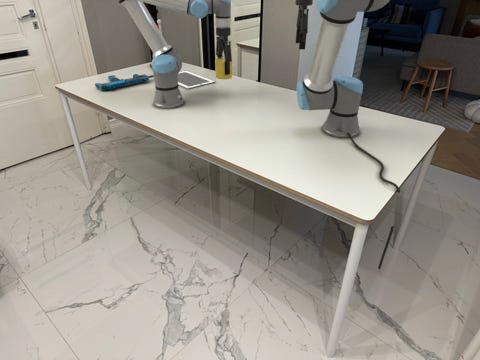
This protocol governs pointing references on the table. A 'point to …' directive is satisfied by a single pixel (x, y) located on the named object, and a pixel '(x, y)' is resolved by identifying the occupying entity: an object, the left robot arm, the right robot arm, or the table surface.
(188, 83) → the tablet
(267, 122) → the table surface
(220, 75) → the tin
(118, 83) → the submachine gun
